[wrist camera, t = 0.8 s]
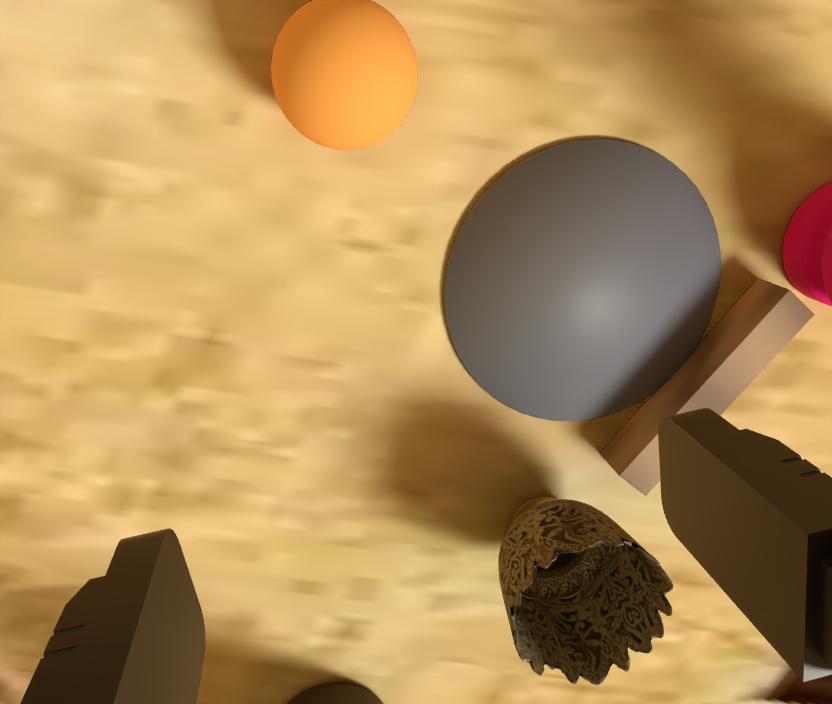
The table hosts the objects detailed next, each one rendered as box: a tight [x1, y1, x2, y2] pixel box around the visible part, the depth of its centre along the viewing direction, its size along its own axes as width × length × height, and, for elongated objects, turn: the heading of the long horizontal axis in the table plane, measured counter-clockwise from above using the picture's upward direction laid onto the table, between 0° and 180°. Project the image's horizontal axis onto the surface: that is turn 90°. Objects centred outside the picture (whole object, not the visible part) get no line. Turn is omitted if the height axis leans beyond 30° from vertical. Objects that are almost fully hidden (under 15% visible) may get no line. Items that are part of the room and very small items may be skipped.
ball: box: [271, 0, 418, 150], centre depth 28 cm, size 6×6×6 cm
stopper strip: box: [600, 278, 814, 496], centre depth 37 cm, size 12×2×2 cm, turn 140°
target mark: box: [444, 139, 721, 421], centre depth 35 cm, size 14×14×1 cm
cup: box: [499, 497, 673, 685], centre depth 36 cm, size 8×7×8 cm
